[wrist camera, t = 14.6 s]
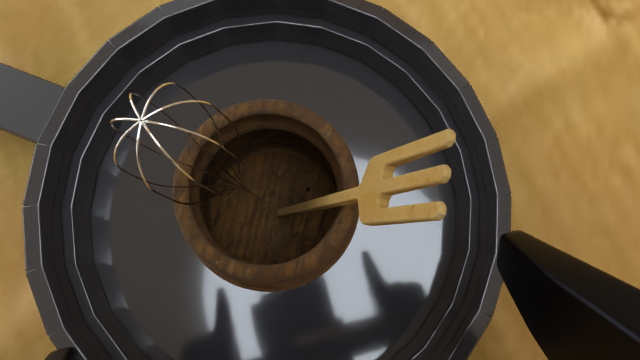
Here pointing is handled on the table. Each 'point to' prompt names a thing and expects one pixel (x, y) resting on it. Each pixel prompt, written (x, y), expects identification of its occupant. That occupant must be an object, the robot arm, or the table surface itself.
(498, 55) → the table surface
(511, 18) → the table surface
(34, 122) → the pan handle
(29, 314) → the table surface
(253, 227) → the utensil holder
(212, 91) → the pan
